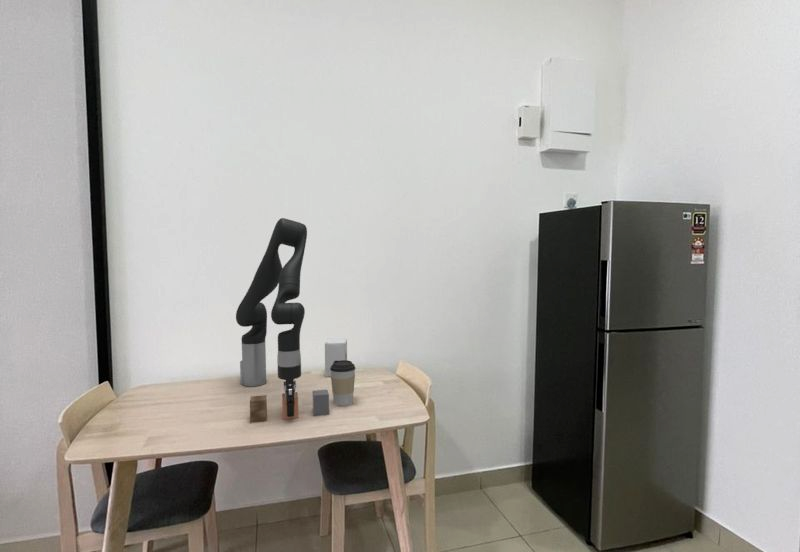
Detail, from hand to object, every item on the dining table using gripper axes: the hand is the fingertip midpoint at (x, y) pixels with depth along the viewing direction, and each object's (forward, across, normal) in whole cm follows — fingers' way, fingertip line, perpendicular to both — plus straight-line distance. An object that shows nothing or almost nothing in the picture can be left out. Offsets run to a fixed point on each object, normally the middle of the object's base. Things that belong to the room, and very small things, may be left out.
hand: (290, 412), depth 144 cm
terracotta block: (+1, 0, 0) cm, 1 cm away
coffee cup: (+1, +7, -19) cm, 20 cm away
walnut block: (+1, 0, +10) cm, 10 cm away
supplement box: (+1, +42, -21) cm, 47 cm away
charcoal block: (+1, 0, -10) cm, 10 cm away
